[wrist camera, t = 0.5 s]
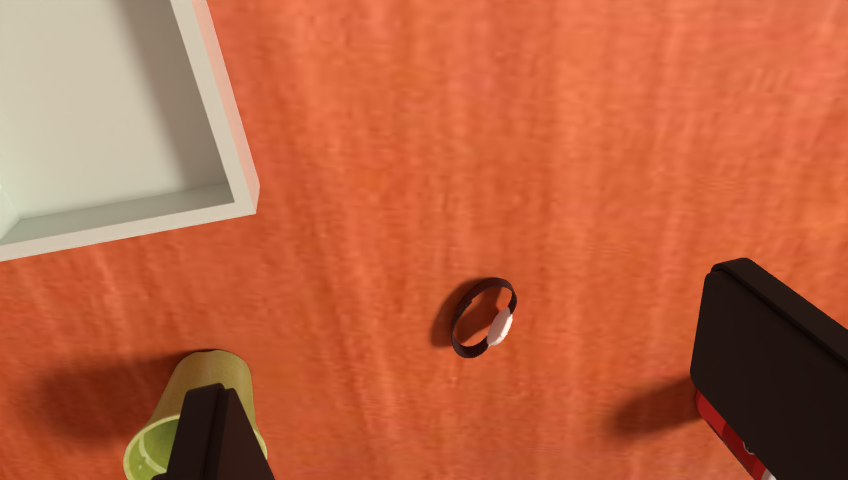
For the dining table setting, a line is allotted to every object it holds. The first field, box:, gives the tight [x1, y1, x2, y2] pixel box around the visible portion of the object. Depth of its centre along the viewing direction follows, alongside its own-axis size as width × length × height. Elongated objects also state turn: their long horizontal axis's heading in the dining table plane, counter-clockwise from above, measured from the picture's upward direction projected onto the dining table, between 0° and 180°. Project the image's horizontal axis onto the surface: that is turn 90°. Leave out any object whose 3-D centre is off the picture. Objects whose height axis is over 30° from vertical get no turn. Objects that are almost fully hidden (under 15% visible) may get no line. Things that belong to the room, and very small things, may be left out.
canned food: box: [695, 390, 776, 480], centre depth 55 cm, size 8×8×11 cm
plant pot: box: [123, 350, 267, 480], centre depth 42 cm, size 9×9×9 cm
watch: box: [451, 278, 517, 358], centre depth 46 cm, size 8×5×4 cm, turn 150°
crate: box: [0, 0, 260, 261], centre depth 31 cm, size 16×16×4 cm
